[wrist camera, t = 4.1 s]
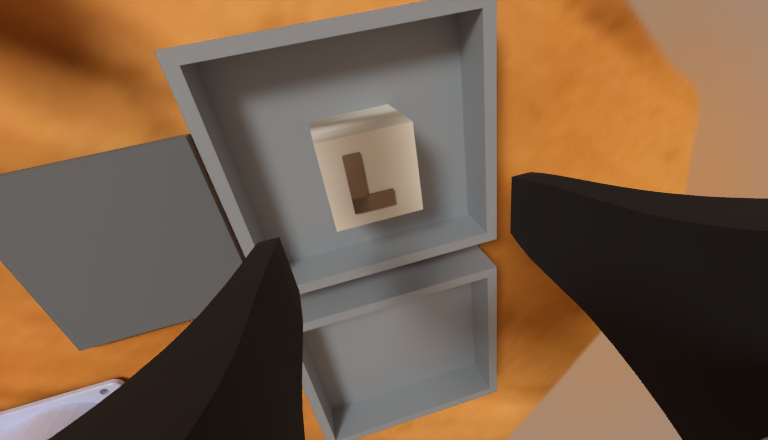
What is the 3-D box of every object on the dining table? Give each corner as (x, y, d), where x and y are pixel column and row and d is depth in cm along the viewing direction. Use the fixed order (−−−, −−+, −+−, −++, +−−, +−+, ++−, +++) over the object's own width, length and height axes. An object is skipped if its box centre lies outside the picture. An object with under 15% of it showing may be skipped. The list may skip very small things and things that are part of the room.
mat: (84, 342, 20) (79, 350, 20) (-50, 184, 15) (-61, 190, 15) (260, 294, 21) (259, 300, 21) (189, 133, 16) (185, 137, 16)
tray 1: (268, 270, 21) (266, 303, 18) (177, 47, 15) (154, 50, 12) (472, 215, 22) (496, 239, 20) (464, -6, 16) (496, -13, 14)
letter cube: (328, 195, 19) (337, 233, 15) (308, 121, 17) (313, 145, 13) (399, 178, 19) (424, 210, 16) (388, 104, 17) (414, 122, 14)
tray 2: (325, 409, 28) (329, 448, 25) (279, 295, 22) (277, 330, 19) (478, 359, 29) (496, 391, 27) (473, 241, 23) (496, 267, 21)
